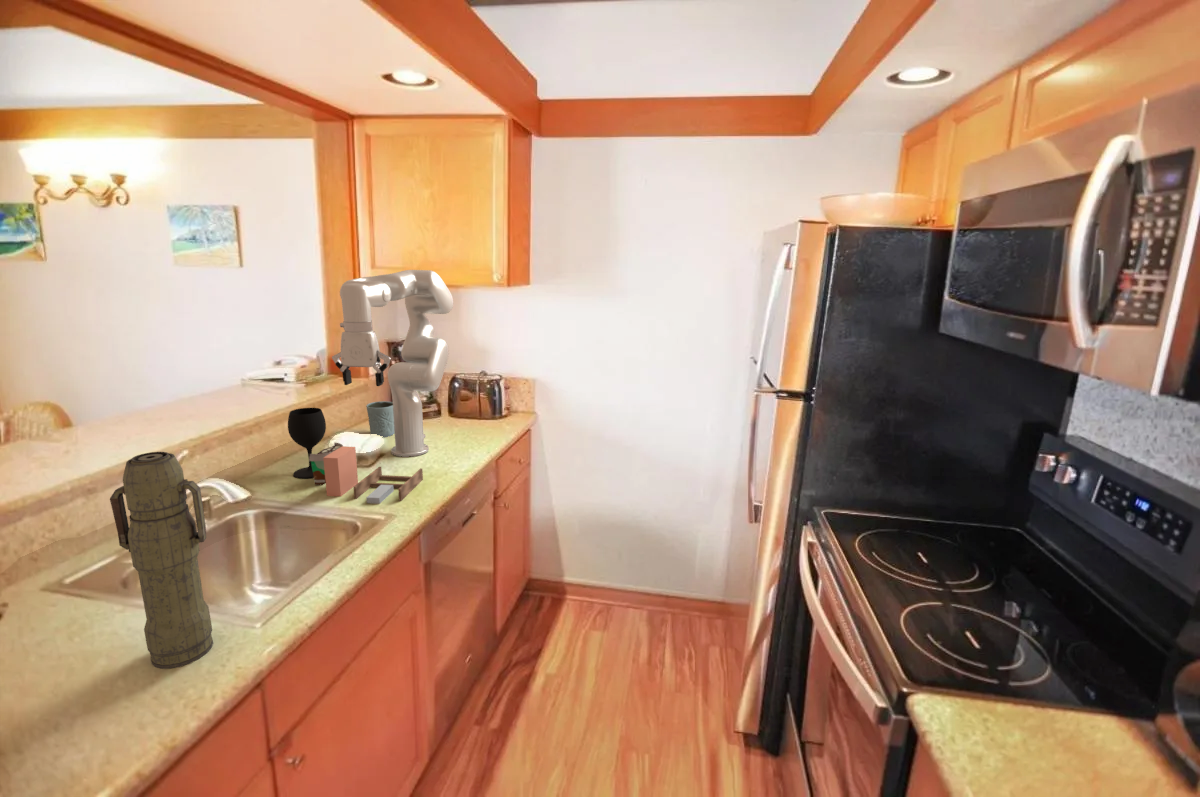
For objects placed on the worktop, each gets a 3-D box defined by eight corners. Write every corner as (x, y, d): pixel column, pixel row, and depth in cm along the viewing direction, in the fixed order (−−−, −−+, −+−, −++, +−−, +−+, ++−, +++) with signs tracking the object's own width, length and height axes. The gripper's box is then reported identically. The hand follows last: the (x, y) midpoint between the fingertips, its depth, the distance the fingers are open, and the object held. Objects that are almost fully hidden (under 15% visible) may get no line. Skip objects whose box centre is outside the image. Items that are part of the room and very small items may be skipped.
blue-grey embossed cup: (393, 429, 227) (391, 400, 225) (399, 436, 219) (397, 405, 216) (366, 433, 222) (363, 402, 219) (371, 440, 214) (369, 408, 211)
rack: (380, 482, 174) (379, 466, 173) (423, 484, 173) (422, 468, 172) (354, 503, 158) (353, 486, 157) (401, 506, 157) (400, 488, 156)
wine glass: (308, 465, 186) (302, 405, 181) (337, 468, 184) (331, 408, 179) (285, 477, 176) (278, 414, 172) (315, 480, 174) (308, 416, 170)
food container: (330, 488, 168) (327, 456, 166) (311, 486, 169) (308, 454, 167) (355, 474, 180) (353, 443, 178) (338, 472, 181) (335, 441, 179)
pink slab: (327, 498, 160) (323, 457, 157) (345, 485, 169) (341, 446, 167) (341, 499, 159) (337, 458, 157) (358, 485, 169) (355, 446, 166)
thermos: (149, 643, 100) (114, 451, 92) (228, 629, 104) (201, 444, 96) (130, 676, 92) (90, 470, 84) (216, 660, 96) (186, 461, 88)
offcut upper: (393, 490, 164) (393, 485, 163) (379, 504, 155) (379, 497, 155) (381, 490, 164) (380, 484, 164) (366, 503, 155) (366, 497, 155)
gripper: (322, 328, 163) (329, 386, 167) (381, 329, 162) (386, 388, 166) (336, 324, 170) (342, 380, 175) (393, 326, 169) (397, 382, 174)
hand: (364, 384), depth 170 cm, fingers open, 9 cm apart
